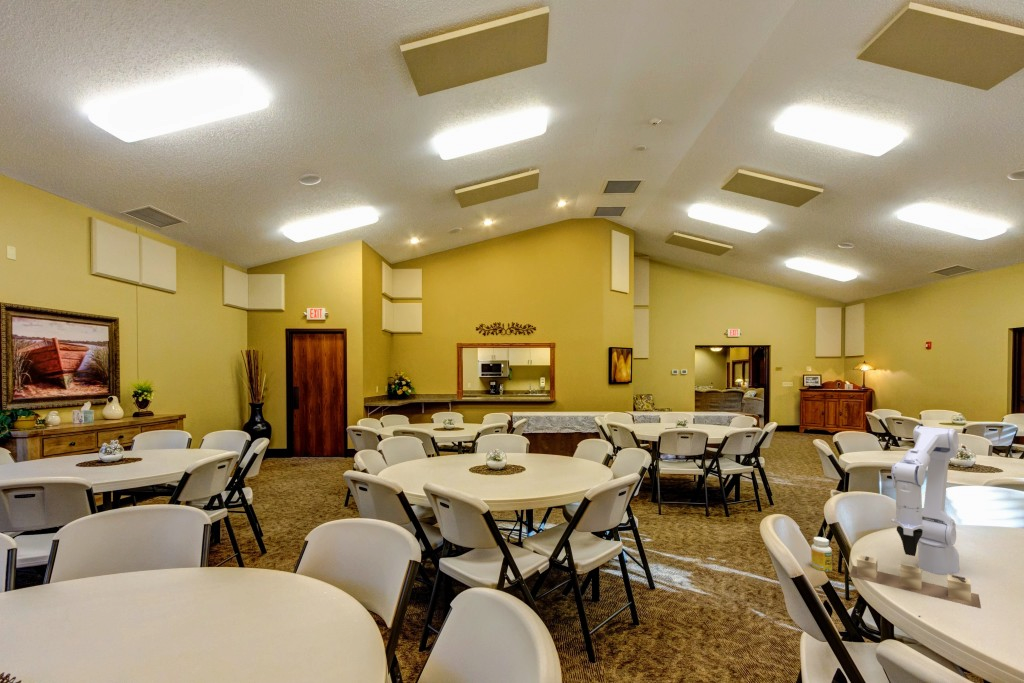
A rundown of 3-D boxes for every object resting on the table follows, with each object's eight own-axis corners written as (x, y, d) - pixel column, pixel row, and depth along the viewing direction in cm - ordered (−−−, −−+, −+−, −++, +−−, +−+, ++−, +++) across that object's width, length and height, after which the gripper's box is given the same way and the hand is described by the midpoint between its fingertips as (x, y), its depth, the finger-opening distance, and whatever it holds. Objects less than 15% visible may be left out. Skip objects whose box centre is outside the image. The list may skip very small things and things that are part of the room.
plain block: (900, 585, 137) (900, 568, 137) (901, 579, 140) (900, 564, 140) (921, 590, 134) (920, 573, 134) (921, 584, 137) (921, 568, 137)
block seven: (948, 596, 130) (947, 578, 130) (947, 590, 133) (947, 573, 133) (971, 602, 127) (970, 583, 127) (970, 596, 130) (969, 577, 131)
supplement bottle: (816, 565, 152) (816, 534, 152) (835, 572, 147) (835, 540, 148) (808, 569, 149) (807, 538, 149) (827, 576, 144) (826, 543, 145)
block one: (857, 574, 143) (856, 558, 143) (858, 569, 147) (858, 553, 147) (876, 579, 140) (875, 562, 140) (877, 574, 144) (877, 557, 144)
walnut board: (848, 579, 142) (848, 576, 142) (853, 568, 150) (853, 565, 150) (981, 612, 124) (981, 608, 124) (978, 598, 131) (978, 594, 131)
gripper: (892, 498, 146) (893, 544, 145) (889, 508, 135) (890, 558, 134) (923, 502, 141) (924, 550, 141) (922, 514, 130) (923, 565, 130)
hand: (910, 554), depth 137 cm, fingers closed
